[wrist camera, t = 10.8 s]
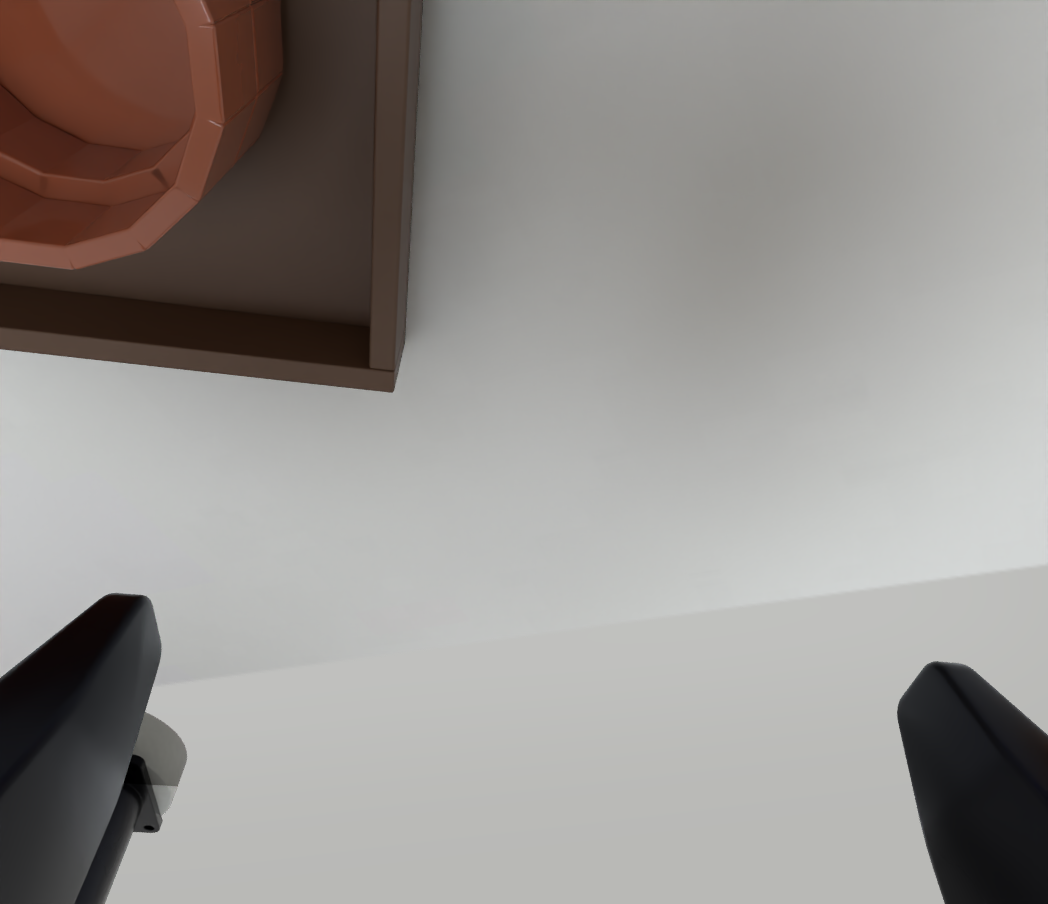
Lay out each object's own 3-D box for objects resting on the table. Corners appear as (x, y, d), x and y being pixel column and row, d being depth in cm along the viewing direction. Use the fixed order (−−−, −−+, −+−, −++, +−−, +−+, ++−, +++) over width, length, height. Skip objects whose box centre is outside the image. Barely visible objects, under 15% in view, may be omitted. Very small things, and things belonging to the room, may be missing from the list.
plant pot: (296, 203, 17) (239, 290, 14) (-36, 160, 17) (-186, 240, 13) (279, -206, 13) (190, -235, 9) (-169, -287, 12) (-450, -352, 9)
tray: (404, 343, 20) (393, 393, 18) (-92, 285, 19) (-160, 332, 17) (448, -485, 11) (436, -556, 9) (-461, -688, 10) (-686, -818, 8)
